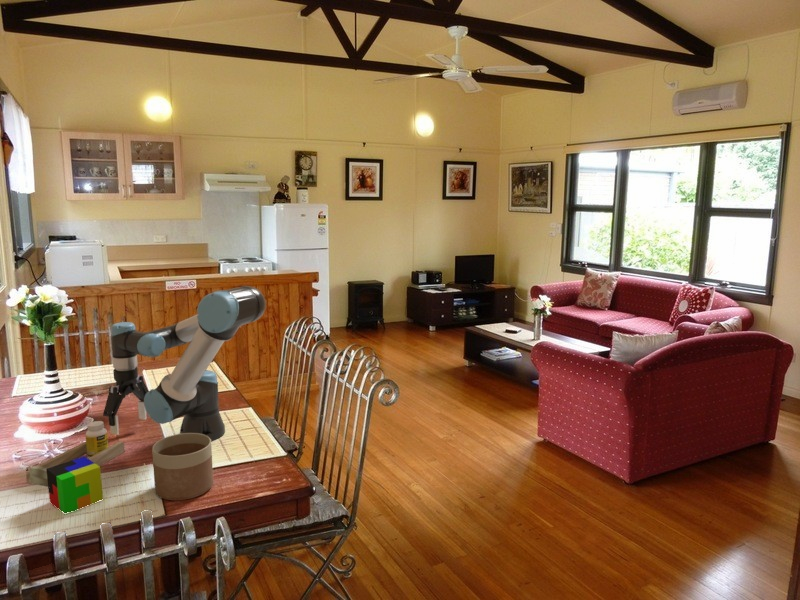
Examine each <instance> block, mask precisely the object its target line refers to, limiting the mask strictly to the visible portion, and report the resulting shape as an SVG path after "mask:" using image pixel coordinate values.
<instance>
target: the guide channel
mask: <svg viewBox="0 0 800 600" xmlns="http://www.w3.org/2000/svg"><path fill="white" fill-rule="evenodd" d="M123 453H125V441H121V440H120V441H118V442H115V443H114V444H112V445H110V446H108V448H106V449H105V450H103V451H101V452H99V453H97V454H95V455H94V456H92V457H90V458H88V457H87V459H89V460H90V461H92V462H94V463H95V464H97V465H98V466H100V467H101V466H102V465H104V464H106V463H108V462H109V461H111V460H112V459H115V458H116V457H118V456H120V455H121V454H123ZM85 456H87V447H86V440H85V441H84V442H82V443H80V444H78V445H76V446H73V447H72V448H70V449H67V450H66V451H64V452H63V453H60V454H58V455H56V456H54V457H52V458H50V459H48V460H46V461H44V462H42V463H40V464H38V465H32V466H30V467H29V468H28V470H27V471H25V476H26V483H27V484H31V485H36V486H41V487H42V486H43V487H47V488H48V481H47V471H46V469H47V468H50V467H53V466H56V465H60V464H63V463H66V462H69V461H72V460H75V459H78V458H81V457H85Z"/></svg>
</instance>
